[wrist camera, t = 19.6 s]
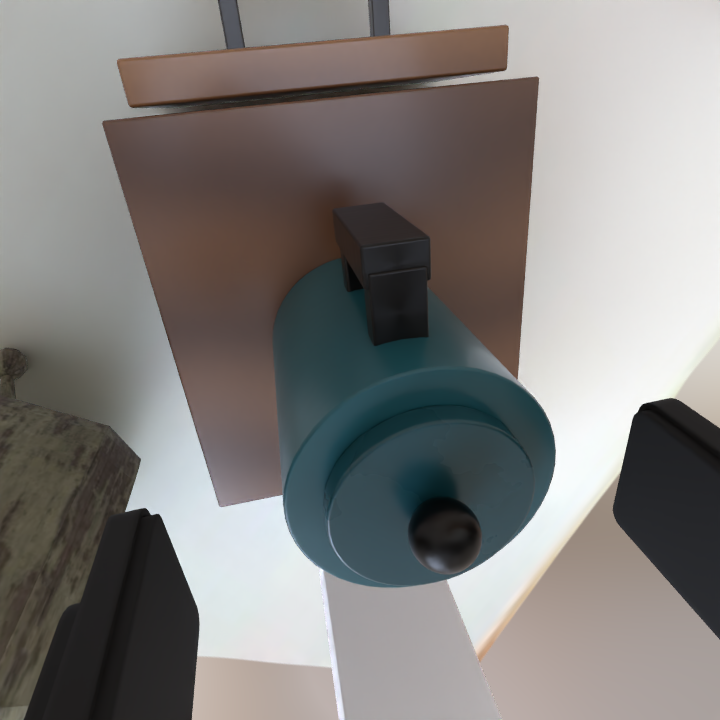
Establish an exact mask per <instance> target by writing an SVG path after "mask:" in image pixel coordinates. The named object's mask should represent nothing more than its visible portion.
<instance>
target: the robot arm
mask: <svg viewBox="0 0 720 720" xmlns="http://www.w3.org/2000/svg"><path fill="white" fill-rule="evenodd" d="M614 501H615V502H614V505H613V513H614V517H615V519H616V521H617V523H618V524H619V526H620V527H621V528H622V529H623V530H624V531H625V533H626V534H627V535H628V536H629V537H630V538H631V539H632V540H633V542H634V543H635V544H636V545H637V546H638V547H639V548H640V549H641V551H642V552H643V553H644V554H645V555H646V556H647V557H648V559H649V560H650V561H651V562H652V563H653V564H654V565H655V567H656V568H657V569H658V570H659V571H660V572H661V573H662V575H663V576H664V577H665V578H666V579H667V580H668V581H669V582H670V584H671V585H672V586H673V587H674V588H675V589H676V590H677V591H678V593H679V594H680V595H681V596H682V597H683V598H684V599H685V601H687V603H688V604H689V605H690V606H691V607H692V608H693V609H694V611H695V612H696V613H697V614H698V615H699V616H700V617H701V619H702V620H703V621H704V622H705V623H706V624H707V625H708V627H709V628H710V629H711V630H712V631H713V632H714V633H715V635H716V636H717V637H718V638H719V639H720V428H719V427H717V426H716V425H714V424H713V423H711V422H710V421H708V420H707V419H705V418H704V417H702V416H701V415H699V414H698V413H697V412H695V411H694V410H692V409H691V408H690V407H688V406H687V405H685V404H684V403H682V402H681V401H679V400H677V399H673V398H669V399H664V400H659V401H654V402H649V403H646V404H643V405H642V406H641V407H640V408H639V411H638V413H636V414H635V415H634V417H633V420H632V425H631V429H630V434H629V438H628V443H627V447H626V452H625V456H624V460H623V465H622V469H621V474H620V479H619V483H618V487H617V492H616V496H615V500H614ZM198 638H199V614H198V609H197V606H196V603H195V601H194V598H193V596H192V593H191V591H190V588H189V586H188V583H187V581H186V578H185V576H184V573H183V571H182V568H181V566H180V563H179V560H178V558H177V555H176V553H175V550H174V548H173V545H172V543H171V540H170V538H169V535H168V533H167V530H166V528H165V525H164V523H163V520H162V518H161V516H160V515H159V514H155V515H150V513H149V511H148V510H147V509H146V508H143V509H138V510H133V511H128V512H124V513H119V514H114V515H111V516H110V517H109V518H108V520H107V522H106V525H105V528H104V531H103V534H102V537H101V540H100V543H99V546H98V550H97V553H96V556H95V559H94V562H93V565H92V568H91V571H90V574H89V577H88V580H87V583H86V586H85V589H84V592H83V595H82V599H81V602H80V603H76V604H73V605H70V606H68V607H67V609H66V610H65V611H64V612H63V614H62V616H61V618H60V620H59V622H58V625H57V627H56V630H55V633H54V636H53V639H52V642H51V644H50V647H49V650H48V653H47V656H46V658H45V661H44V664H43V667H42V670H41V672H40V675H39V678H38V681H37V684H36V686H35V689H34V692H33V695H32V698H31V700H30V703H29V706H28V709H27V712H26V715H25V717H24V720H192V708H193V697H194V685H195V672H196V662H197V650H198Z"/></svg>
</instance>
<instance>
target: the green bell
mask: <svg viewBox="0 0 720 720" xmlns="http://www.w3.org/2000/svg"><path fill="white" fill-rule="evenodd" d="M27 368H28V365H27V358H26V356H25V355H24V354H22V353H21V352H20V351H18V350H16V349H10V348H4V349H1V350H0V720H24V717H25V715H26V712H27V709H28V706H29V703H30V700H31V698H32V695H33V692H34V689H35V686H36V684H37V681H38V678H39V675H40V672H41V670H42V667H43V664H44V661H45V658H46V656H47V653H48V650H49V647H50V644H51V642H52V639H53V636H54V633H55V630H56V627H57V625H58V622H59V620H60V618H61V616H62V614H63V612H64V611H65V610H66V609H67V607H68V606H70V605H73V604H76V603H80V602H81V599H82V595H83V592H84V589H85V586H86V583H87V580H88V577H89V574H90V571H91V568H92V565H93V562H94V559H95V556H96V553H97V550H98V546H99V543H100V540H101V537H102V534H103V531H104V528H105V525H106V522H107V520H108V518H109V517H110V516H111V515H114V514H119V513H124V512H125V510H126V507H127V504H128V501H129V498H130V495H131V491H132V488H133V485H134V482H135V479H136V475H137V472H138V469H139V465H140V461H141V459H140V458H139V457H138V456H137V455H136V453H135V452H134V451H133V450H132V449H131V448H130V447H129V446H128V445H127V444H126V443H125V442H124V441H123V440H122V439H121V438H120V437H119V436H118V435H117V433H116V432H115V431H114V430H113V429H112V428H111V427H110V426H107V425H103V424H100V423H96V422H93V421H89V420H86V419H82V418H79V417H75V416H72V415H68V414H65V413H61V412H58V411H54V410H51V409H47V408H44V407H40V406H37V405H33V404H30V403H26V402H23V401H19V400H16V399H15V387H14V379H17V378H20V377H21V376H22V375H23V374H24V372H25V371H26V370H27Z"/></svg>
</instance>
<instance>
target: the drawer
mask: <svg viewBox="0 0 720 720" xmlns="http://www.w3.org/2000/svg"><path fill="white" fill-rule="evenodd" d="M218 4H219V9H220V15H221V20H222V25H223V31H224V36H225V42H226V47H227V49H225V50H213V51H202V52H191V53H179V54H168V55H156V56H145V57H133V58H122V59H118V60H117V66H118V69H119V73H120V76H121V80H122V83H123V87H124V91H125V94H126V98H127V101H128V105H129V106H130V107H132V108H181V107H191V106H201V105H211V104H221V103H231V102H241V101H250V100H260V99H270V98H280V97H290V96H300V95H310V94H320V93H330V92H340V91H350V90H360V89H370V88H380V87H390V86H399V85H409V84H419V83H429V82H436V81H442V80H449V79H455V78H462V77H468V76H475V75H481V74H488V73H494V72H500V71H505V70H506V69H507V56H508V34H509V27H508V26H507V25H499V26H488V27H476V28H465V29H453V30H442V31H430V32H419V33H408V34H396V35H390V17H389V0H368V7H369V22H370V37H362V38H351V39H339V40H328V41H316V42H305V43H293V44H282V45H271V46H259V47H248V48H245V44H244V38H243V32H242V26H241V21H240V15H239V9H238V3H237V0H218Z"/></svg>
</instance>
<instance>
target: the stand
mask: <svg viewBox="0 0 720 720" xmlns="http://www.w3.org/2000/svg"><path fill="white" fill-rule="evenodd" d="M538 85H539V77H527V78H518V79H508V80H498V81H488V82H478V83H469V84H459V85H449V86H439V87H429V88H420V89H410V90H400V91H390V92H380V93H371V94H361V95H351V96H341V97H331V98H321V99H312V100H302V101H292V102H282V103H272V104H263V105H253V106H243V107H233V108H223V109H214V110H204V111H194V112H184V113H174V114H165V115H155V116H145V117H135V118H125V119H115V120H106V121H103V122H102V125H103V128H104V131H105V135H106V138H107V141H108V144H109V148H110V151H111V154H112V157H113V161H114V164H115V167H116V170H117V174H118V177H119V180H120V183H121V187H122V190H123V193H124V197H125V200H126V203H127V206H128V210H129V213H130V216H131V219H132V223H133V226H134V229H135V232H136V236H137V239H138V242H139V245H140V249H141V252H142V255H143V259H144V262H145V265H146V268H147V272H148V275H149V278H150V281H151V285H152V288H153V291H154V294H155V298H156V301H157V304H158V307H159V311H160V314H161V317H162V321H163V324H164V327H165V330H166V334H167V337H168V340H169V343H170V347H171V350H172V353H173V356H174V360H175V363H176V366H177V369H178V373H179V376H180V379H181V383H182V386H183V389H184V392H185V396H186V399H187V402H188V405H189V409H190V412H191V415H192V418H193V422H194V425H195V428H196V431H197V435H198V438H199V441H200V445H201V448H202V451H203V454H204V458H205V461H206V464H207V467H208V471H209V474H210V477H211V480H212V484H213V487H214V490H215V493H216V497H217V500H218V503H219V506H220V507H224V506H229V505H234V504H239V503H244V502H249V501H254V500H259V499H264V498H269V497H274V496H279V495H283V493H282V478H281V463H280V448H279V432H278V417H277V402H276V387H275V372H274V356H273V328H274V322H275V319H276V316H277V313H278V310H279V308H280V306H281V304H282V302H283V300H284V298H285V297H286V295H287V294H288V292H289V291H290V290H291V289H292V288H293V286H294V285H295V284H296V283H297V282H298V281H299V280H300V279H302V278H303V277H304V276H305V275H306V274H308V273H309V272H311V271H312V270H314V269H315V268H317V267H319V266H321V265H323V264H325V263H327V262H330V261H333V260H336V259H339V258H341V252H340V247H339V246H338V244H337V242H336V240H335V231H334V222H333V214H332V211H333V209H335V208H342V207H350V206H358V205H365V204H373V203H381V202H383V203H385V204H386V205H387V206H389V207H390V208H392V209H393V210H394V211H396V212H397V213H398V214H400V215H401V216H402V217H404V218H405V219H406V220H408V221H409V222H410V223H412V224H413V225H414V226H416V227H417V228H419V229H420V230H421V231H423V232H424V233H425V234H427V235H428V236H429V237H430V239H431V279H430V280H428V281H427V284H428V287H429V289H430V290H431V291H432V292H433V293H434V294H435V295H436V296H437V297H438V298H439V299H440V300H441V301H442V302H443V303H444V304H445V305H446V306H447V307H448V308H449V309H450V310H451V311H452V312H453V314H454V315H455V316H456V317H457V318H458V319H459V320H460V321H461V322H462V323H463V324H464V325H465V326H466V327H467V328H468V329H469V330H470V331H471V332H472V333H473V334H474V335H475V336H476V337H477V339H478V340H479V341H480V342H481V343H482V344H483V345H484V346H485V347H486V348H487V349H488V350H489V351H490V352H491V353H492V354H493V355H494V356H495V357H496V358H497V359H498V360H499V361H500V362H501V364H502V365H503V366H504V367H505V368H506V369H507V370H508V371H509V372H510V373H511V374H512V375H513V376H514V377H515V378H516V379H518V365H519V351H520V337H521V323H522V309H523V295H524V281H525V267H526V253H527V239H528V225H529V211H530V197H531V183H532V169H533V155H534V141H535V127H536V113H537V99H538Z"/></svg>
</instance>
